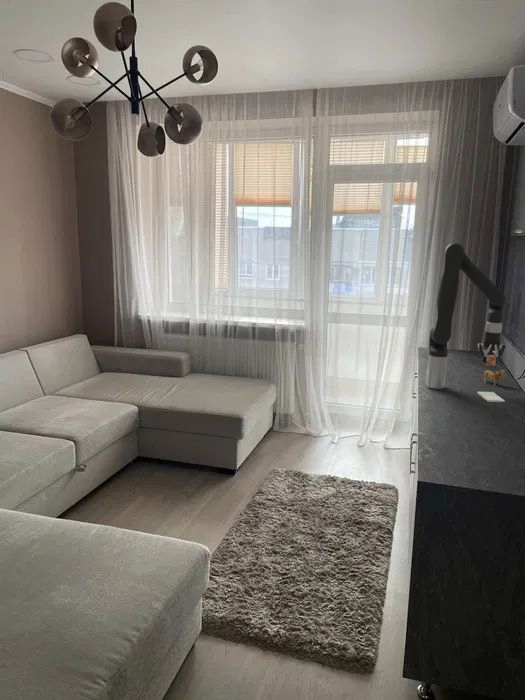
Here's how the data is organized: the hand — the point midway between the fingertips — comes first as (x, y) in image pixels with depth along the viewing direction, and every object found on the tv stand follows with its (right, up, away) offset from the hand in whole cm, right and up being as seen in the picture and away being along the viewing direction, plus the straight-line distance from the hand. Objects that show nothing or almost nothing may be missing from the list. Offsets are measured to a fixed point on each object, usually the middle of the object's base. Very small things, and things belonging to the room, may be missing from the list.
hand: (489, 363), depth 259 cm
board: (-2, -17, -6) cm, 18 cm away
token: (0, -1, 0) cm, 1 cm away
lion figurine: (+10, -12, +19) cm, 25 cm away
